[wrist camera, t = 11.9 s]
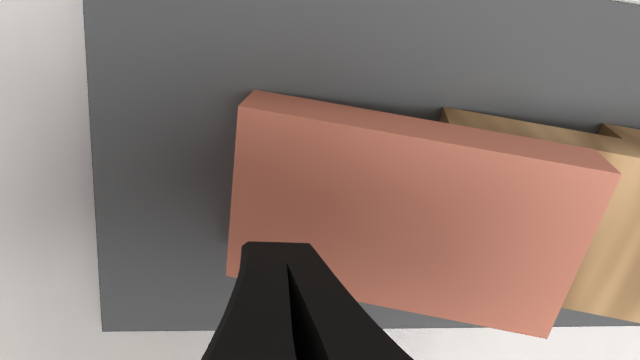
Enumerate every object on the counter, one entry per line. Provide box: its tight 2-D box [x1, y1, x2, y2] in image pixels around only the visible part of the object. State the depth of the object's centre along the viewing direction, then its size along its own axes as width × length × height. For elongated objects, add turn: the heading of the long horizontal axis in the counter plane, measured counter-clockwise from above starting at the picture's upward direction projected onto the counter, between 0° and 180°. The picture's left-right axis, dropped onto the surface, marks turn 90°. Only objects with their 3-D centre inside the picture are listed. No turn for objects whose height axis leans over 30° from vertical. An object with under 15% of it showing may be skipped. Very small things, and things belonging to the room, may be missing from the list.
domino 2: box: [439, 107, 640, 323], centre depth 14 cm, size 2×5×9 cm
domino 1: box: [226, 89, 622, 339], centre depth 13 cm, size 2×5×9 cm
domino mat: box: [83, 0, 640, 332], centre depth 16 cm, size 28×12×1 cm, turn 81°
